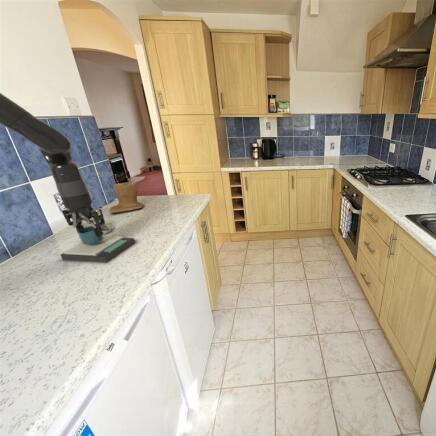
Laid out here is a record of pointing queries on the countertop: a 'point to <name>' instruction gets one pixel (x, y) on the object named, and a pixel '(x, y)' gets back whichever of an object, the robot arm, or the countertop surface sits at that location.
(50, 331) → the countertop surface
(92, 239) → the bowl
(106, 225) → the ceramic mug
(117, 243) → the scale
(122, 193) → the brown upright piece
